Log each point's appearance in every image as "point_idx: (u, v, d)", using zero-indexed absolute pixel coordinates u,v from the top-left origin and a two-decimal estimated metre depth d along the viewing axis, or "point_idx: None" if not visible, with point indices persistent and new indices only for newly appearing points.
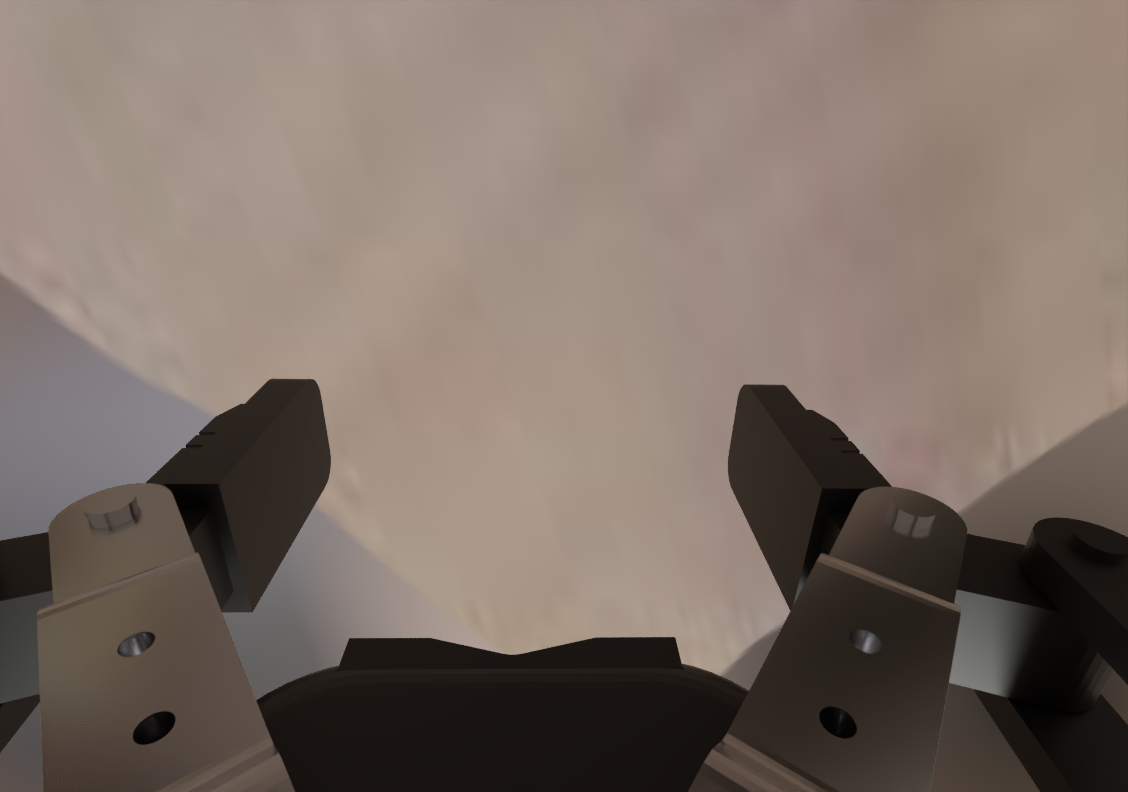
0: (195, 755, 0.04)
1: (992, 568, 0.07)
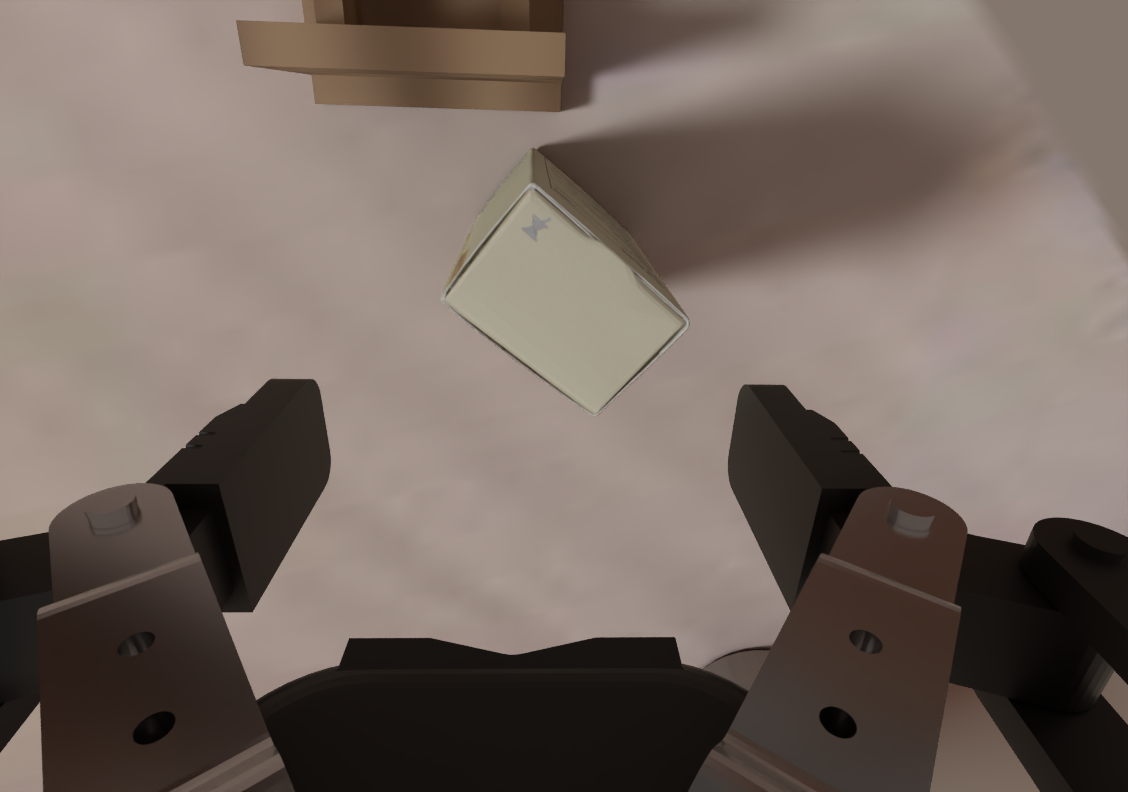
0: (194, 754, 0.04)
1: (992, 568, 0.07)
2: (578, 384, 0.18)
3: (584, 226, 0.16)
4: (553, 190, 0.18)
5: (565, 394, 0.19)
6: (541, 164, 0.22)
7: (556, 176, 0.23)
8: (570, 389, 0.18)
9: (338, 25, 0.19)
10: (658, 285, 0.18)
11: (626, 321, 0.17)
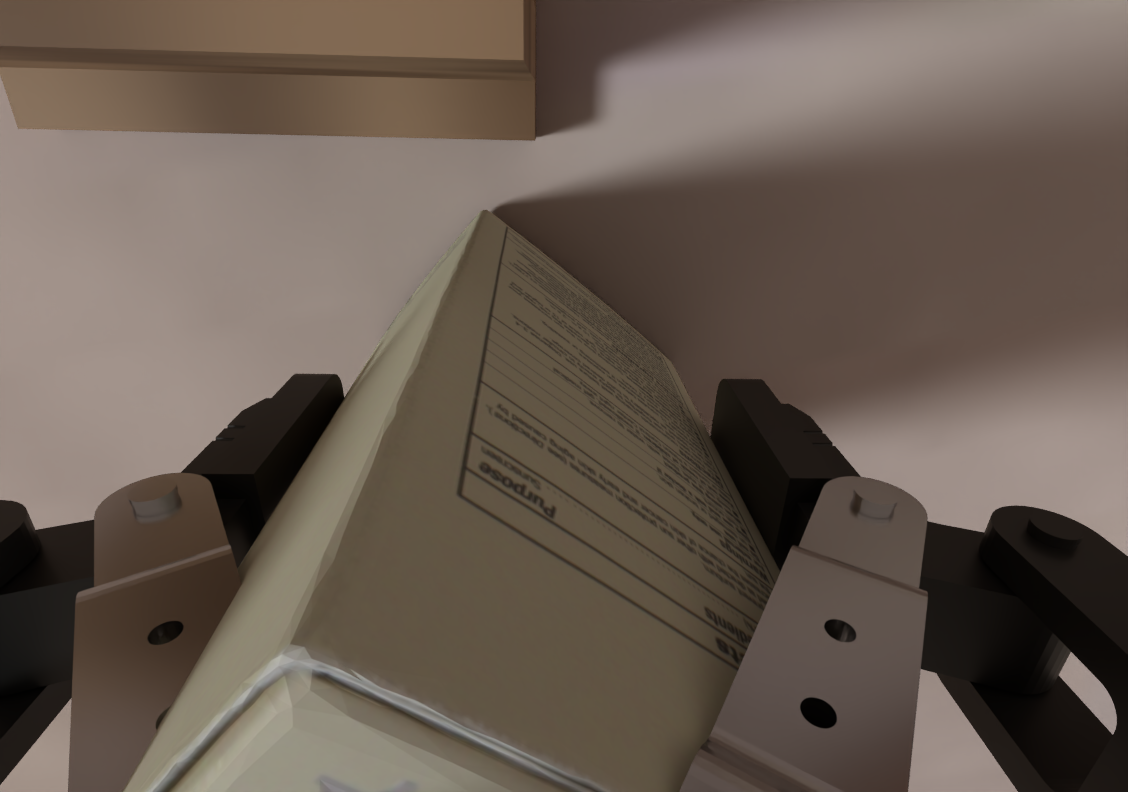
0: None
1: (952, 555, 0.08)
2: None
3: (592, 782, 0.03)
4: (469, 497, 0.05)
5: None
6: (481, 279, 0.09)
7: (520, 302, 0.10)
8: None
9: None
10: None
11: None
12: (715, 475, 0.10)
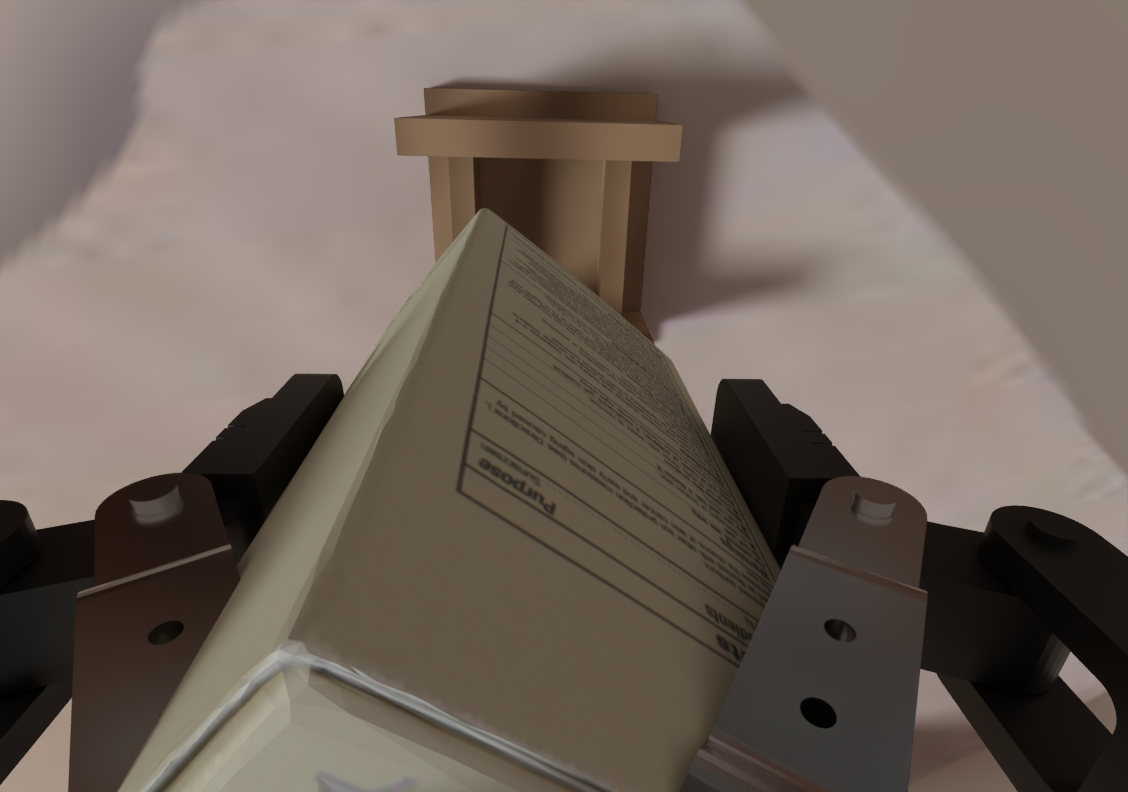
0: None
1: (952, 555, 0.08)
2: None
3: (592, 778, 0.03)
4: (468, 493, 0.05)
5: None
6: (481, 277, 0.09)
7: (520, 299, 0.10)
8: None
9: None
10: None
11: None
12: (715, 473, 0.10)
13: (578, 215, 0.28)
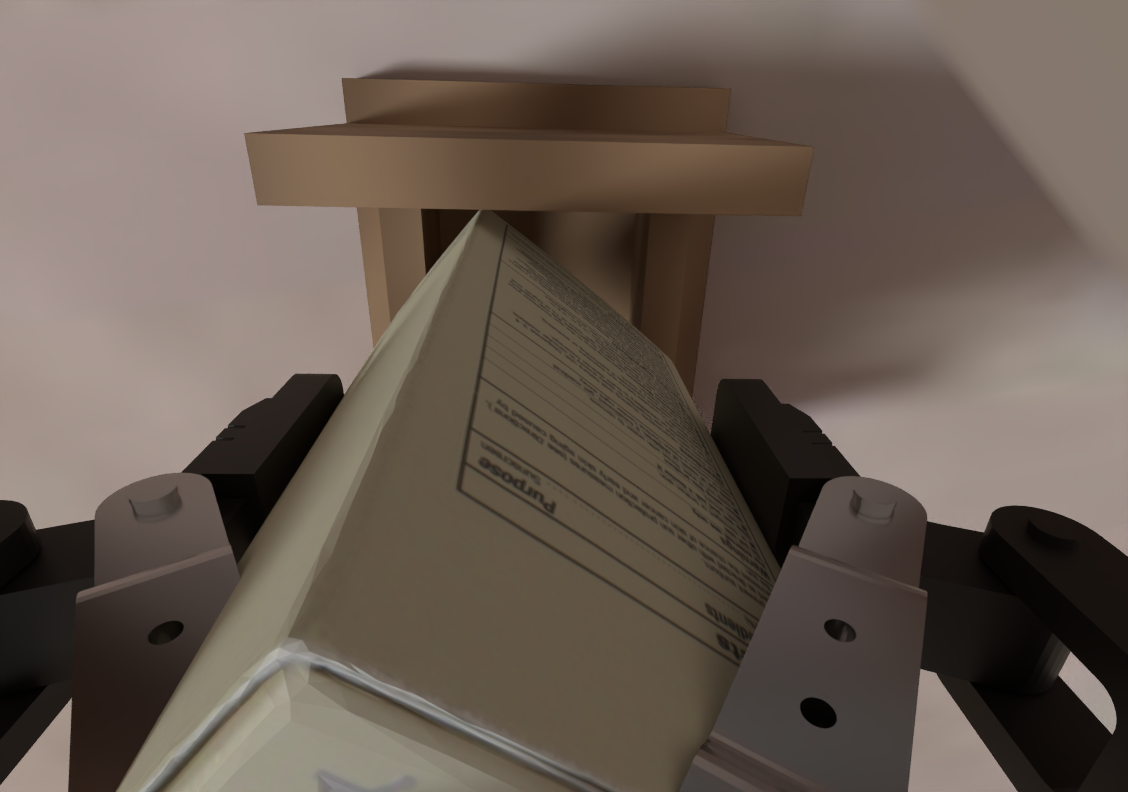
0: None
1: (952, 555, 0.08)
2: None
3: (592, 777, 0.03)
4: (468, 491, 0.05)
5: None
6: (481, 276, 0.09)
7: (520, 299, 0.10)
8: None
9: None
10: None
11: None
12: (715, 472, 0.10)
13: (597, 281, 0.18)
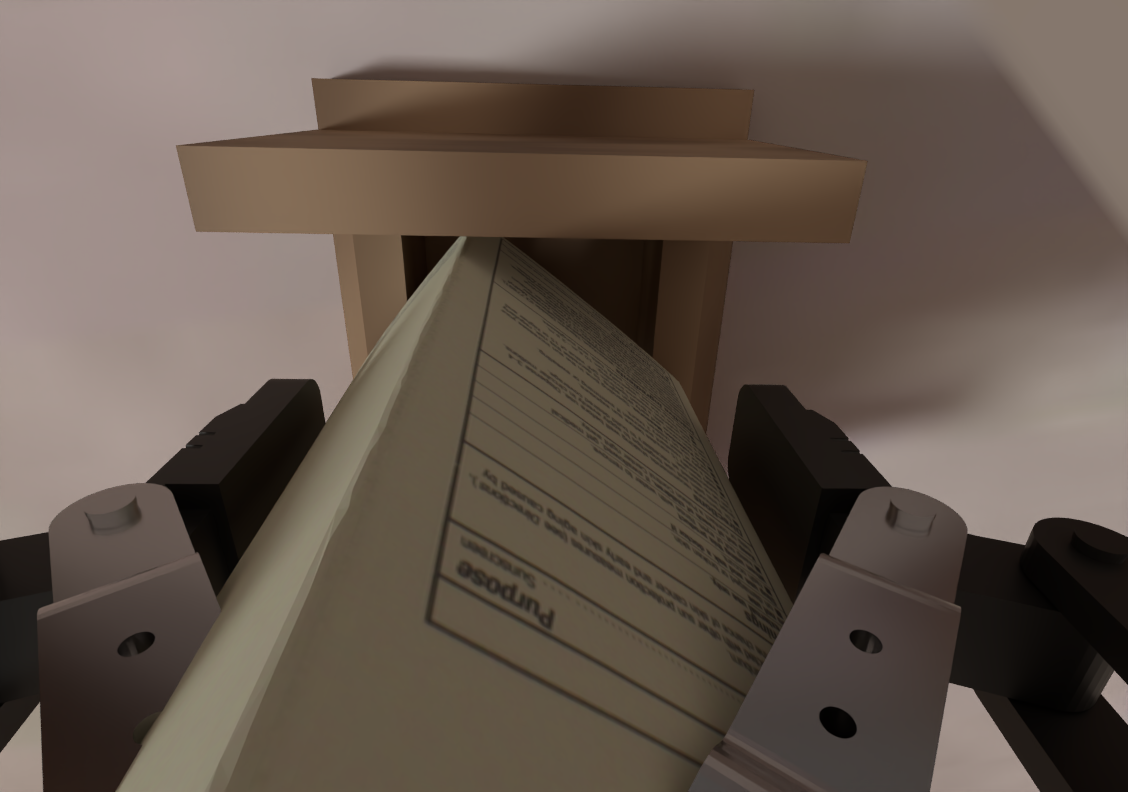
0: None
1: (992, 568, 0.07)
2: None
3: None
4: (441, 620, 0.03)
5: None
6: (470, 305, 0.08)
7: (514, 328, 0.08)
8: None
9: None
10: None
11: None
12: (733, 520, 0.09)
13: (601, 304, 0.16)
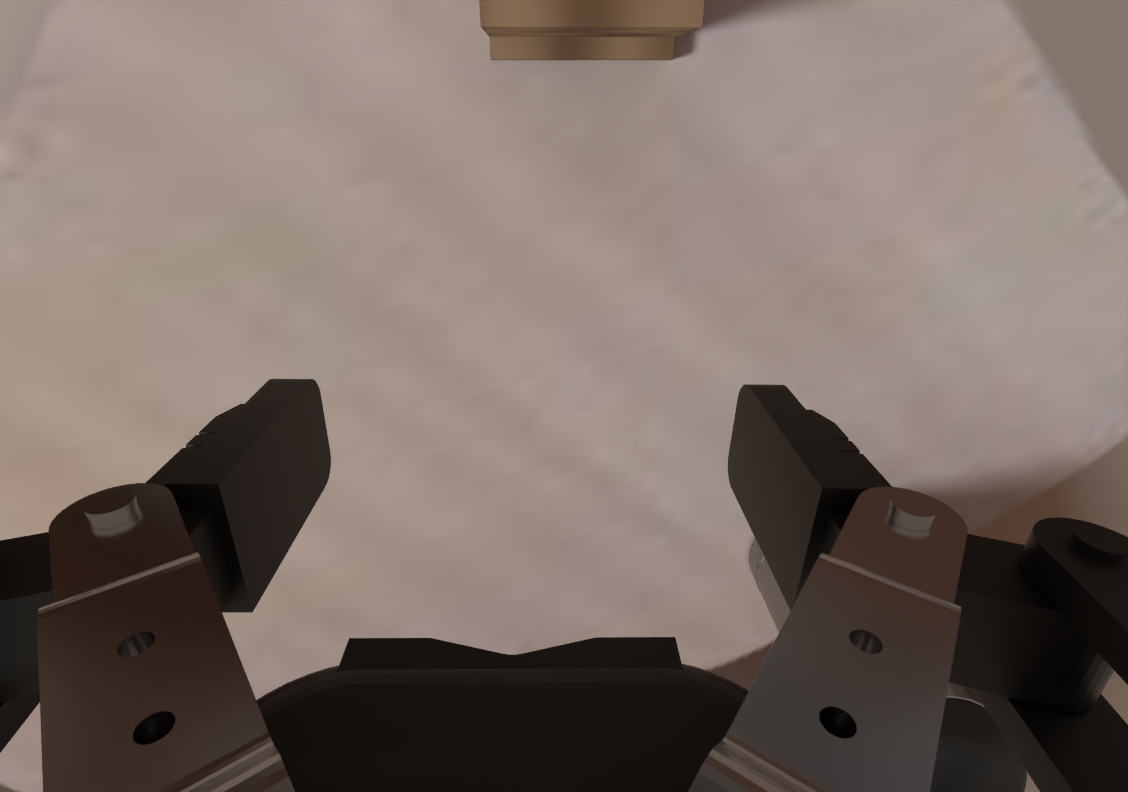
0: (194, 754, 0.04)
1: (992, 569, 0.07)
2: None
3: None
4: None
5: None
6: None
7: None
8: None
9: None
10: None
11: None
12: None
13: None
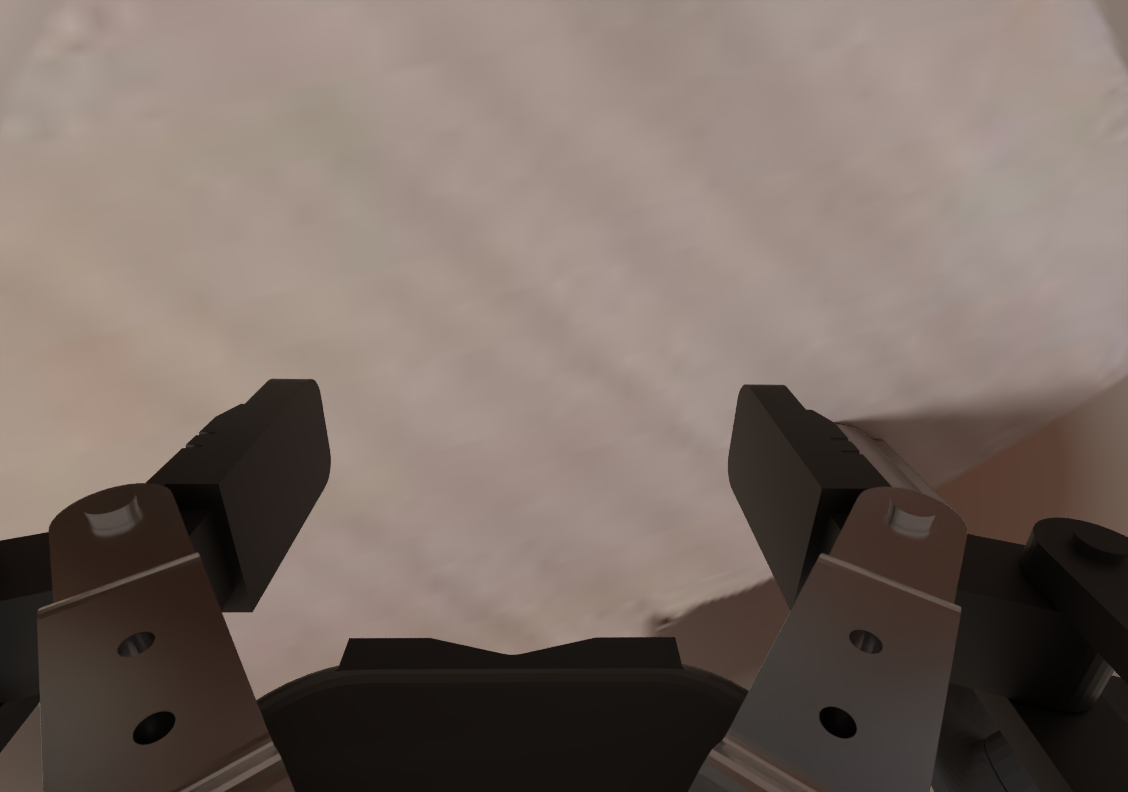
0: (194, 755, 0.04)
1: (992, 568, 0.07)
2: None
3: None
4: None
5: None
6: None
7: None
8: None
9: None
10: None
11: None
12: None
13: None
